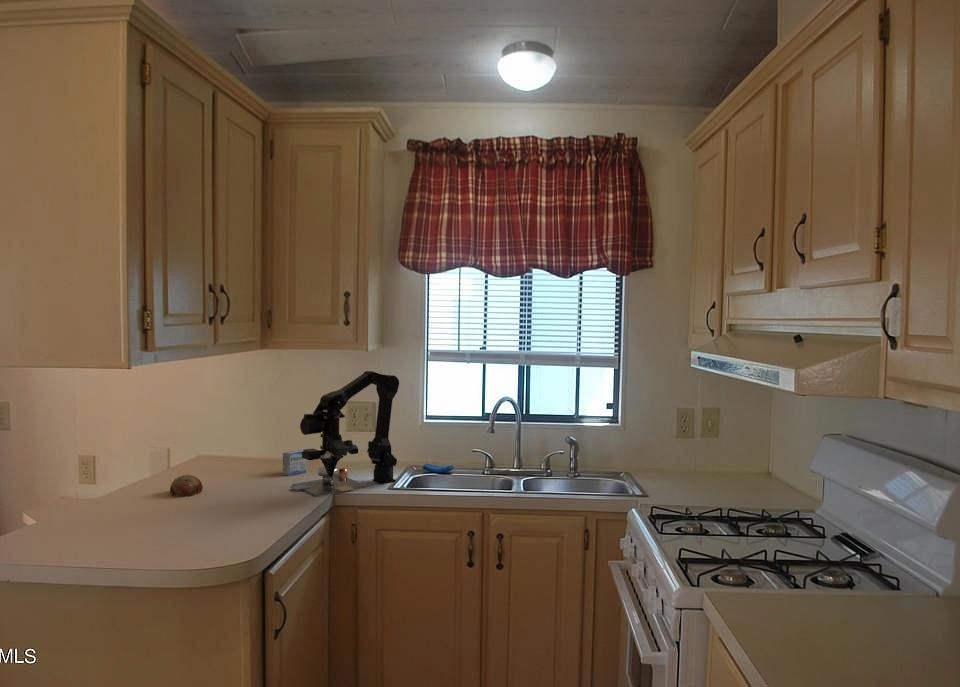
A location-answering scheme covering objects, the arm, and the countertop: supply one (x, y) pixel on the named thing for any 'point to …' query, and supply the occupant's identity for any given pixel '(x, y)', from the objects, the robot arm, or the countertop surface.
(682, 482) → the countertop surface
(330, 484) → the post base
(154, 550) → the countertop surface
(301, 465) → the medicine box
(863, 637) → the countertop surface
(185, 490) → the bread roll
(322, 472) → the collar lever
